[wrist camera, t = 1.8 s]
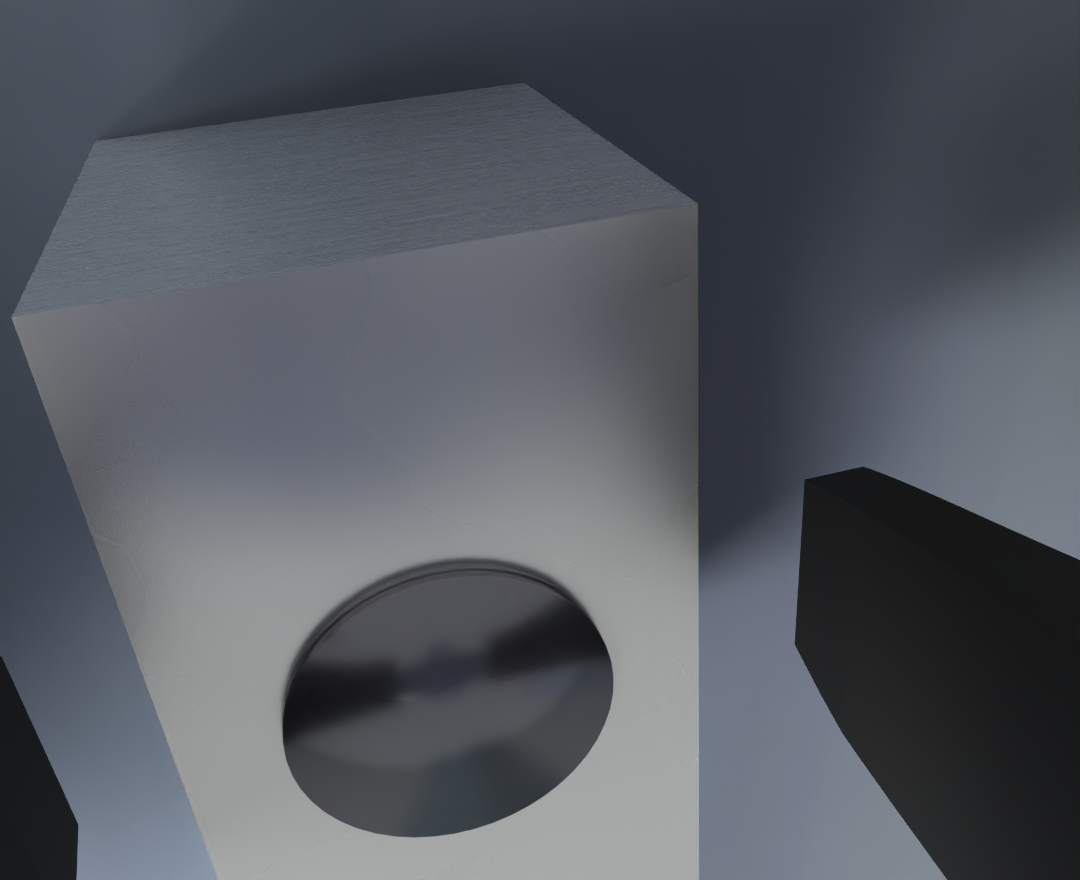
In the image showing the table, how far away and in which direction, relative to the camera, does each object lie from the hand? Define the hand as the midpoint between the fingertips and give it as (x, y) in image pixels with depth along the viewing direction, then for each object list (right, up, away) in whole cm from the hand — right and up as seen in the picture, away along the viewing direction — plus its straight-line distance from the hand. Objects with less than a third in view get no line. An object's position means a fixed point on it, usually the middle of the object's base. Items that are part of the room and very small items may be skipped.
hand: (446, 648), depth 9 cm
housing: (-1, +2, +4) cm, 4 cm away
